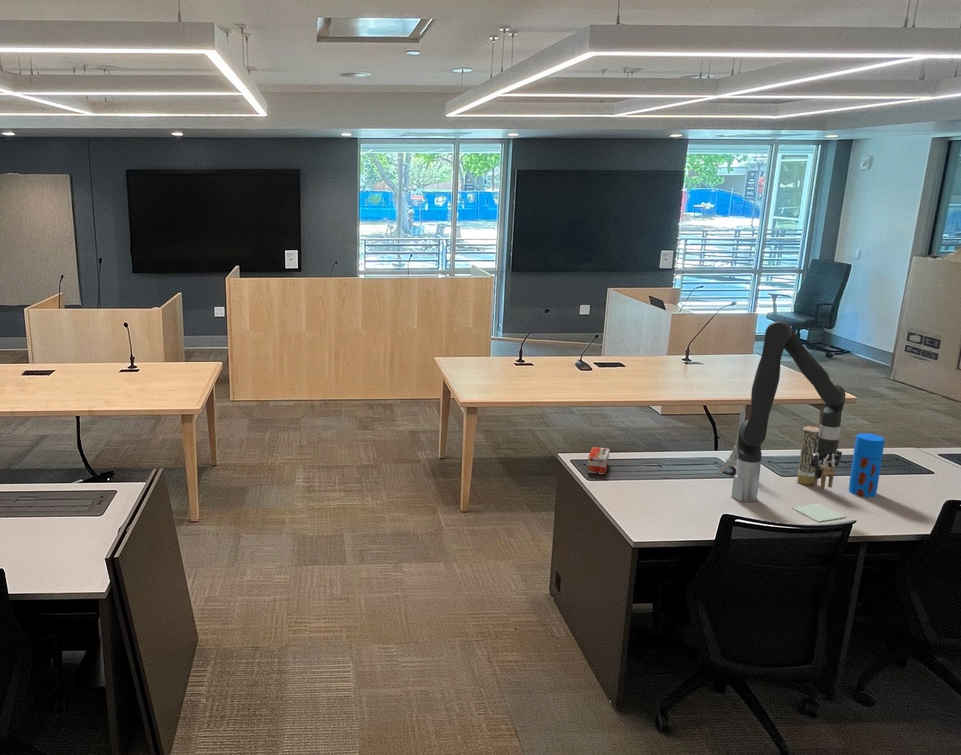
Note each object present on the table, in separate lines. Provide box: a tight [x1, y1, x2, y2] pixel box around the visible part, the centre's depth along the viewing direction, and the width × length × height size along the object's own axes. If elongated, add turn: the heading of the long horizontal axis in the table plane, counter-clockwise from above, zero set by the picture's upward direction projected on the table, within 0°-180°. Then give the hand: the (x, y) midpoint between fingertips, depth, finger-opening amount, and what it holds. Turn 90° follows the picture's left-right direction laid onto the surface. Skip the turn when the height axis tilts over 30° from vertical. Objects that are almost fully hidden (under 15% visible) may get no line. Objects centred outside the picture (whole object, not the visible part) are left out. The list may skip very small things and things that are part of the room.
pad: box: [791, 503, 847, 523], centre depth 303 cm, size 14×14×1 cm
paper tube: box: [797, 425, 820, 486], centre depth 332 cm, size 7×7×25 cm
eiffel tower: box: [716, 408, 747, 474], centre depth 344 cm, size 13×13×30 cm
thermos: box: [848, 432, 885, 498], centre depth 322 cm, size 11×11×25 cm
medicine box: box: [587, 446, 610, 474], centre depth 346 cm, size 15×8×8 cm, turn 165°
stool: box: [812, 463, 836, 489], centre depth 299 cm, size 5×5×8 cm
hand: (823, 476), depth 299 cm, fingers closed on stool, 5 cm apart
